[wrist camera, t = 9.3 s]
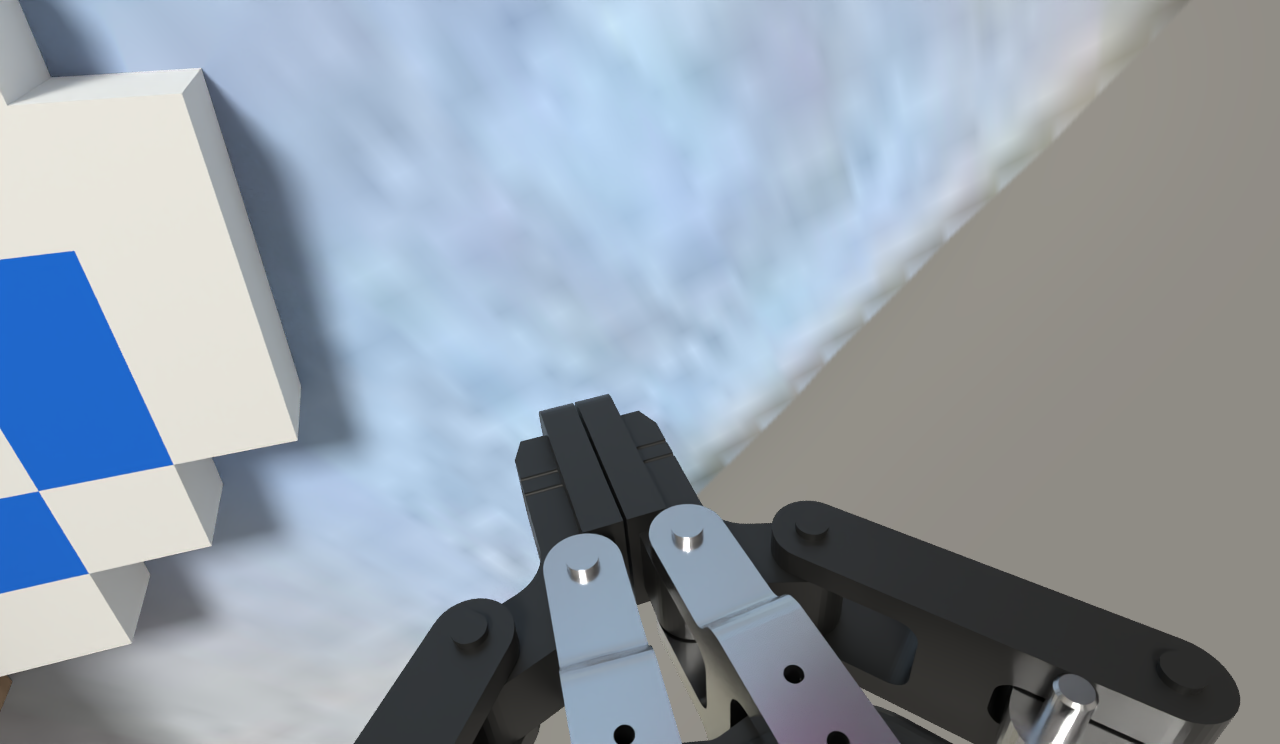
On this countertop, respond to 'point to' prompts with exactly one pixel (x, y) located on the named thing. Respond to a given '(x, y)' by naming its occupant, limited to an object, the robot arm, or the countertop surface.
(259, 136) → the countertop surface
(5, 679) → the walnut shelf
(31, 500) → the pixel art tile
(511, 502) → the countertop surface
